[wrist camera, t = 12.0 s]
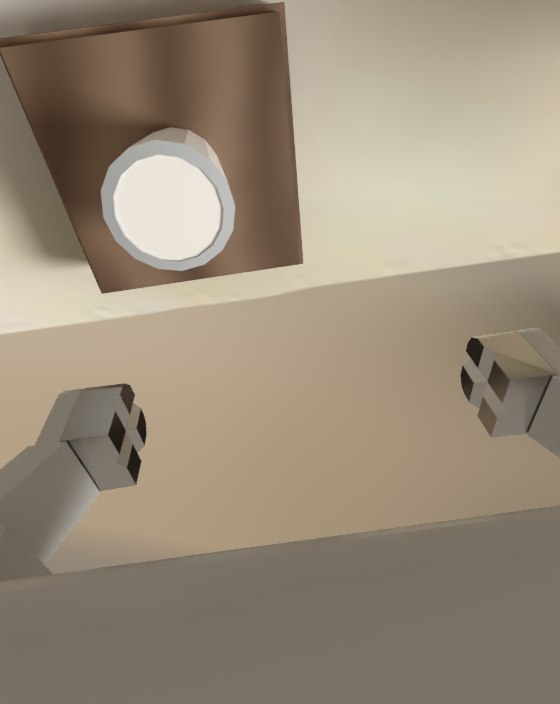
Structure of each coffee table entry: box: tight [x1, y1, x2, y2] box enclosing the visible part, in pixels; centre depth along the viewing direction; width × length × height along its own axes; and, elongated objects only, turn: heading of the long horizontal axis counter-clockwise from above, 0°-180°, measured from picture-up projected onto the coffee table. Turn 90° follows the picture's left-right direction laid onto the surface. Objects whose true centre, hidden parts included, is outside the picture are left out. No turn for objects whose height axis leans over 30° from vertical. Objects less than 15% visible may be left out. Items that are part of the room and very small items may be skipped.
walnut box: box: [0, 2, 303, 293], centre depth 30 cm, size 16×16×6 cm
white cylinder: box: [101, 127, 235, 271], centre depth 24 cm, size 7×7×7 cm
